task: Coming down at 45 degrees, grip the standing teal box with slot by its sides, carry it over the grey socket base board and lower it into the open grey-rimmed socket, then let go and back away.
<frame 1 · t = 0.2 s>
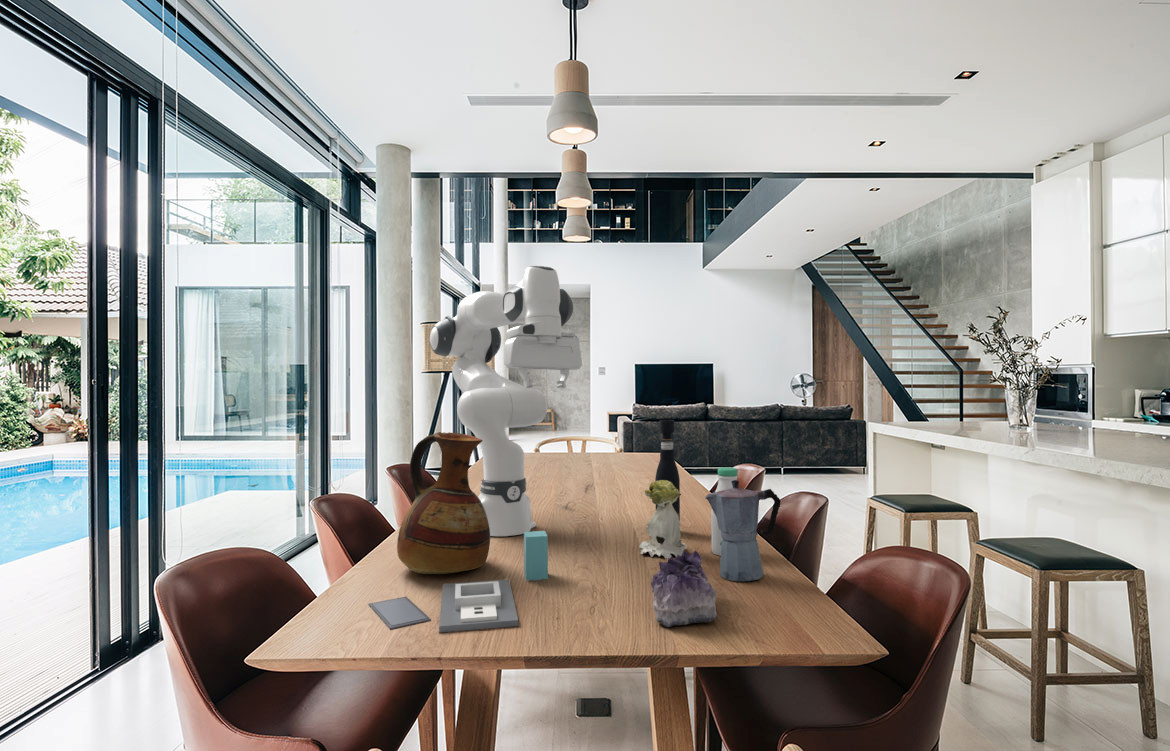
hand: (545, 387, 154), 39 cm above the table, fingers open, 8 cm apart
milk bottle: (728, 554, 150), on the table
ceramic pitcher: (444, 570, 139), on the table
teal box with slot: (535, 576, 134), on the table
grey socket base board: (477, 605, 117), on the table
phone: (398, 615, 114), on the table
wine bottle: (667, 533, 170), on the table
geode: (682, 610, 115), on the table
moka pot: (743, 576, 133), on the table
green-topped white figurine: (661, 552, 152), on the table
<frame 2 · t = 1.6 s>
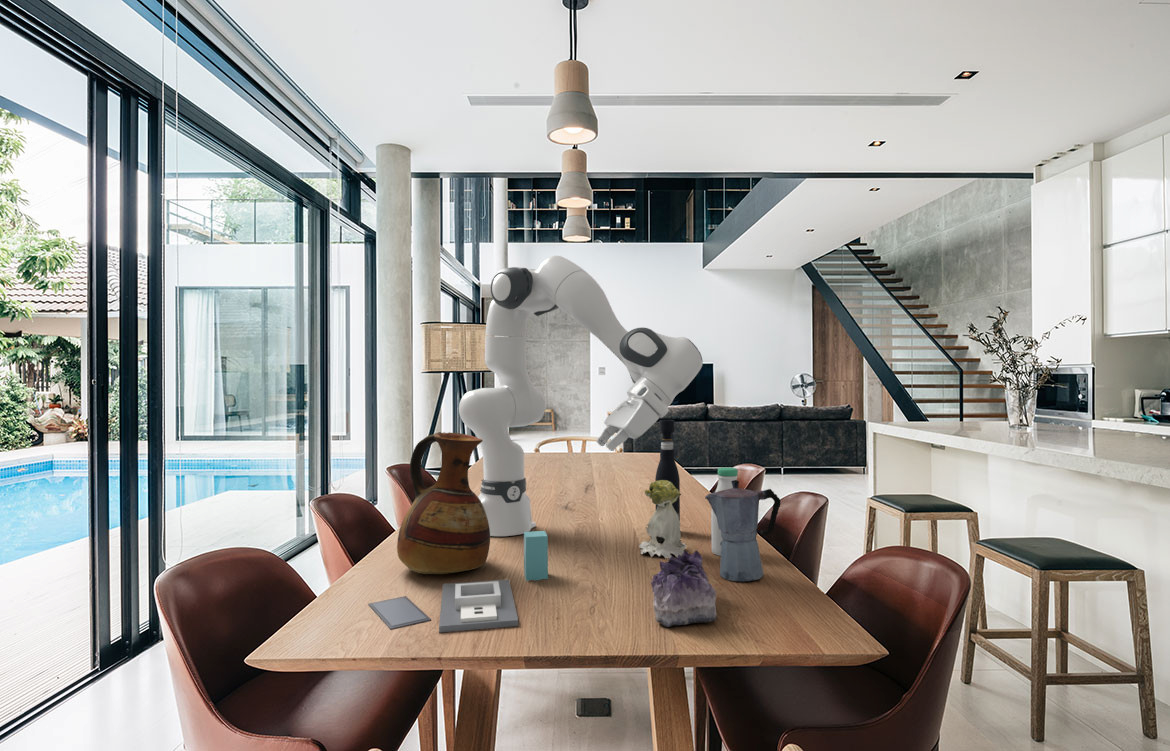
hand: (603, 446, 137), 27 cm above the table, fingers open, 8 cm apart
nothing on the table moved.
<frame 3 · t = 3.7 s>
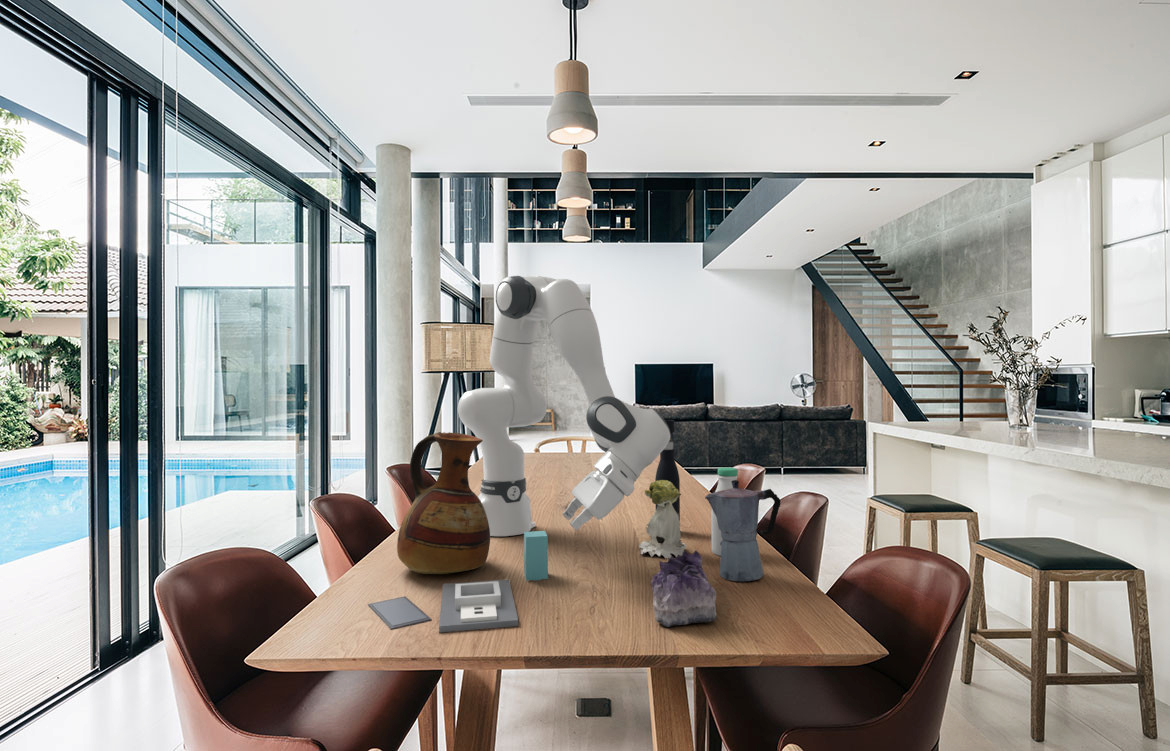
hand: (568, 522, 135), 11 cm above the table, fingers open, 8 cm apart
nothing on the table moved.
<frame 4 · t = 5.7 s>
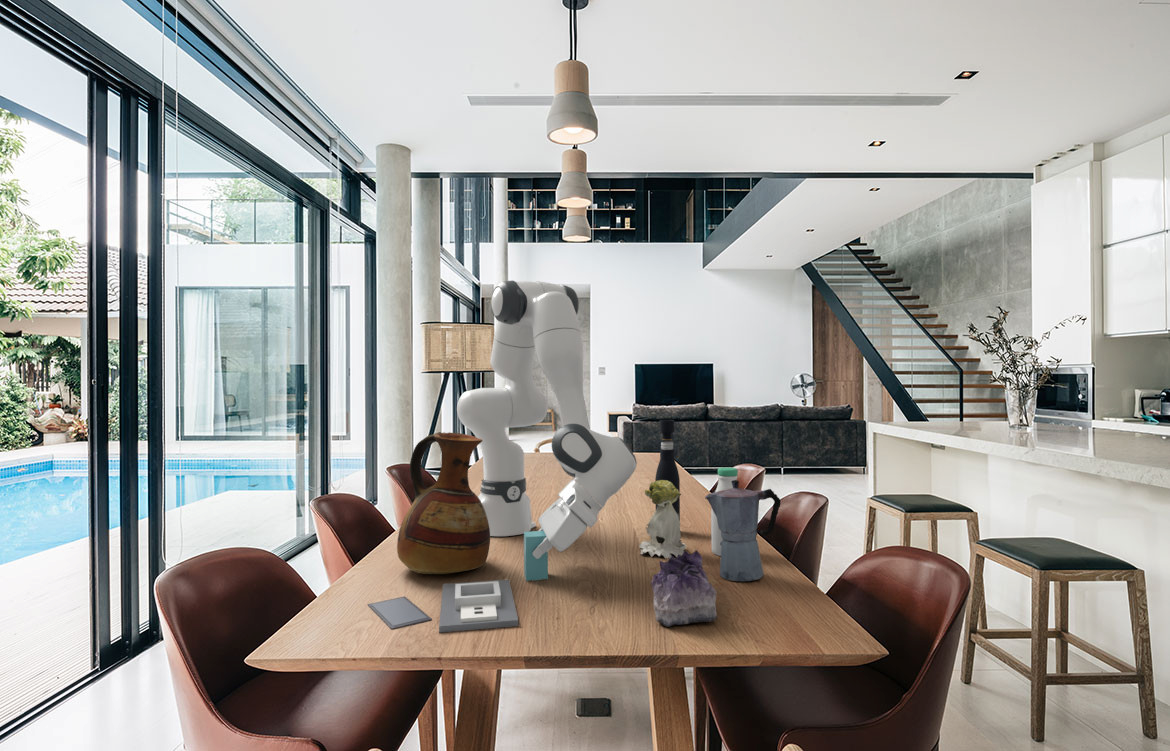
hand: (532, 552, 134), 5 cm above the table, fingers closed on teal box with slot, 4 cm apart
teal box with slot: (535, 576, 134), on the table, touching gripper
everything else where it was.
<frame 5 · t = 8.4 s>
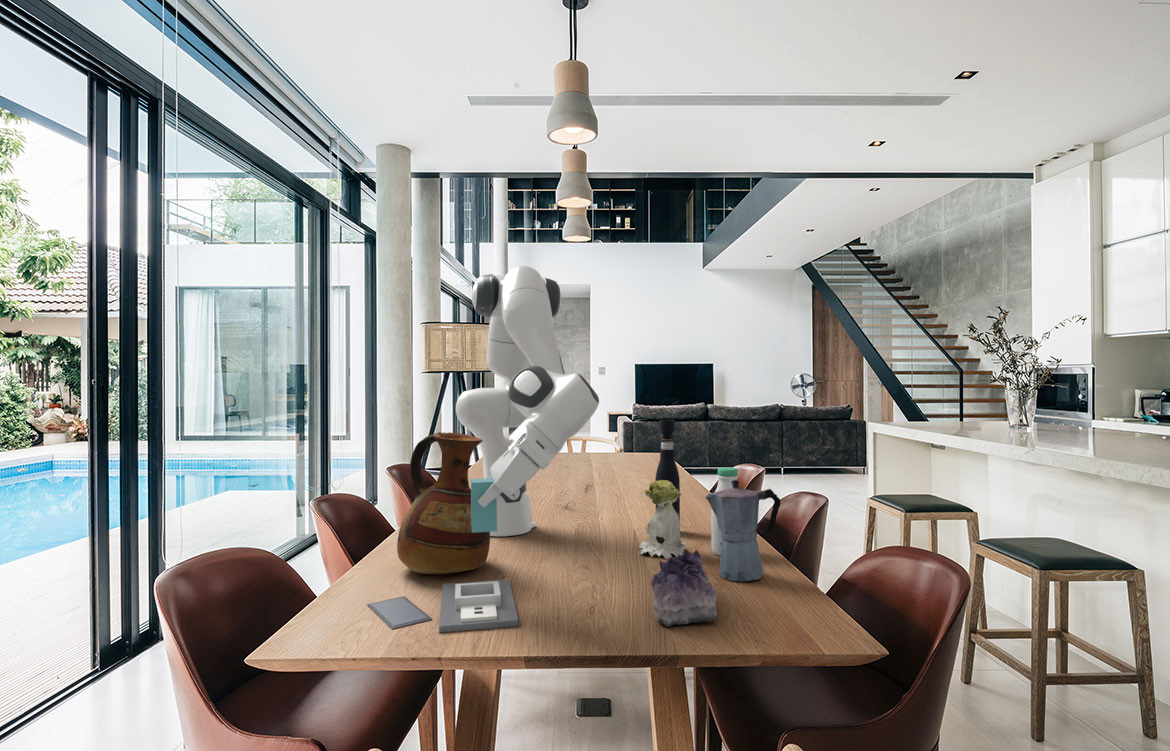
hand: (479, 501, 118), 19 cm above the table, fingers closed on teal box with slot, 4 cm apart
teal box with slot: (484, 529, 118), point 14 cm above the table, touching gripper
everything else where it was.
when the fingers open (7 cm above the table, at t = 11.1 s): teal box with slot stays where it is, resting on grey socket base board.
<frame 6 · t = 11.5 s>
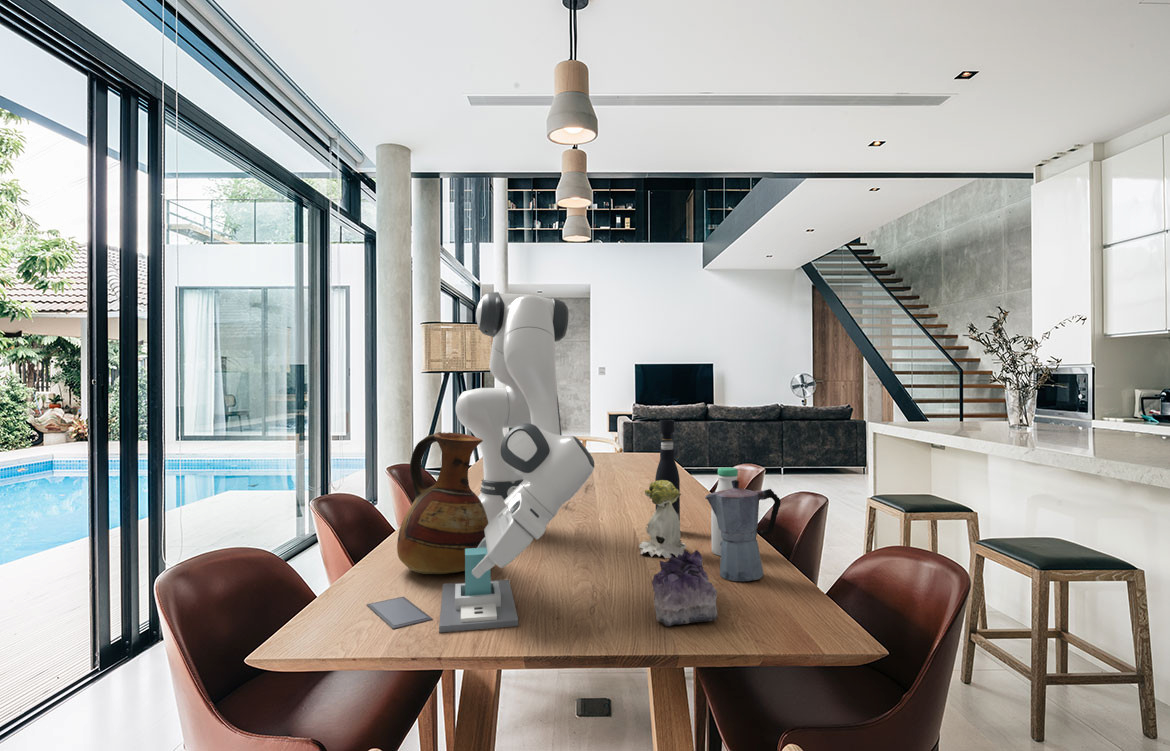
hand: (473, 567, 117), 7 cm above the table, fingers open, 8 cm apart
teal box with slot: (477, 600, 117), point 1 cm above the table, touching grey socket base board
everything else where it was.
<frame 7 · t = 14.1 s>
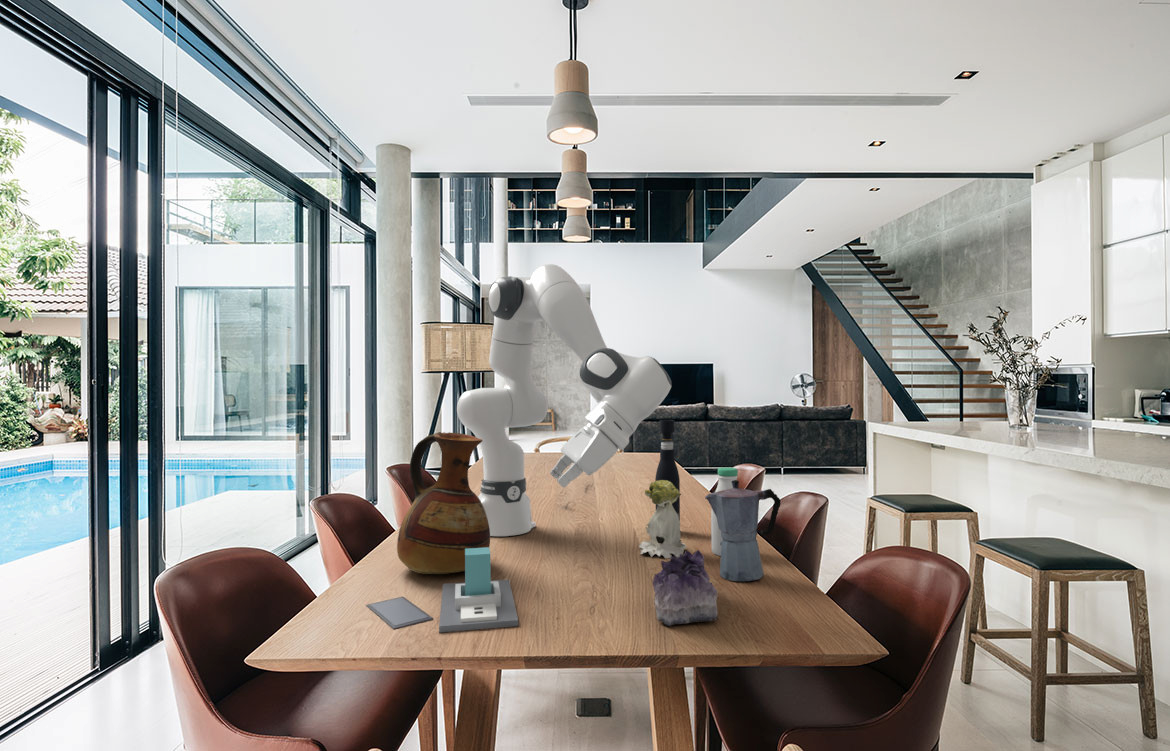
hand: (556, 480, 121), 22 cm above the table, fingers open, 8 cm apart
nothing on the table moved.
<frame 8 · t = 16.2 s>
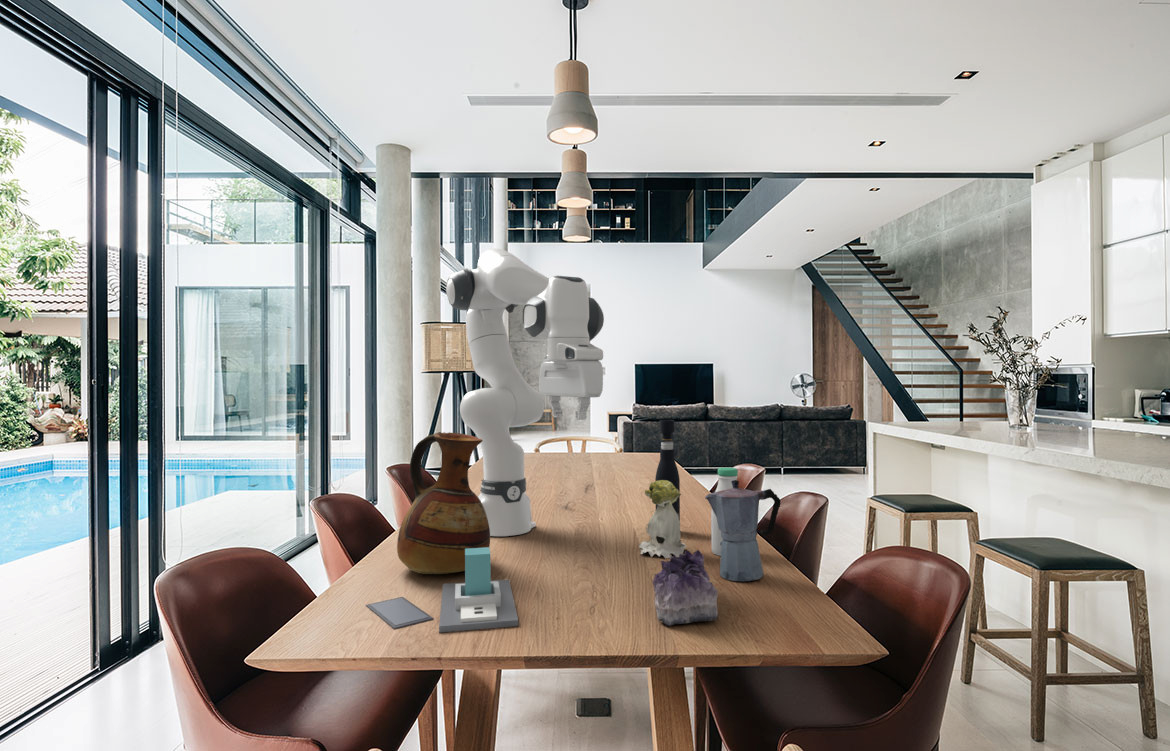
hand: (568, 418, 134), 33 cm above the table, fingers open, 8 cm apart
nothing on the table moved.
at the end: teal box with slot 0.1 cm off-centre on the grey socket base board, point 1.0 cm above the grey socket base board's base; teal box with slot tilted 0°; the gripper is holding nothing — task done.
